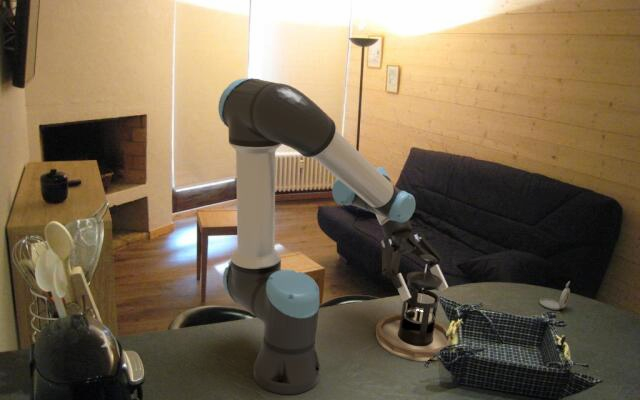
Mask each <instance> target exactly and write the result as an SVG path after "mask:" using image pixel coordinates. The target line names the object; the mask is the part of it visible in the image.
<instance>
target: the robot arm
mask: <svg viewBox="0 0 640 400" xmlns="http://www.w3.org/2000/svg"><path fill="white" fill-rule="evenodd" d="M218 115H219V118H220V120H221V122H223V124H224V126H226V127H227V128H228V144H229V145H230V146H231V147H232V148H233V149H234V150H235V160H236V162H235V164H236V165H235V168H236V169H235V171H236V176H235V177H236V222H237V224H236V226H237V228H236V230H237V231H236V232H237V234H236V235H237V238H236V240H237V249H236V250H235V251H234V252H233V253H232V255H231V258H230V261H228V265H227V267H225V268H224V270H223V276H222V284H223V288H224V291H225V292H226V294H227V295H228V297H229V298H230V299H231V300H232V301H233V302H234V303H235V304H237V305H238V306H240V307H242V308H243V309H244V310H246V311H247V312H249V314H251V315H253V316H255V318H257V319H258V320H259V321H261V322H262V323H263V325H264V326H263V339H262V340H263V341H262V344H261V346H260V348H259V351H258V354H257V356H256V358H255V359H254V362H253V378H254V380H255V382H256V383H257V384H258V385H259V386H261V387H262V388H263V389H265V390H267V391H270V392H272V393H276V394H280V395H296V394H301V393H305V392H308V391H309V390H311V389H313V388H314V387H315V386H316V385H317V384H318V383H319V380H320V375H321V365H320V364H321V363H320V361H319V358H318V352H317V350H316V346H315V345H316V335H317V327H318V321H319V319H318V318H319V310H320V309H319V308H320V304H321V303H320V300H321V299H320V289H319V286H318V283H317V282H316V281H315V279H314V278H312V276H309V275H308V274H306V273H304V272H301V271H298V272H297V271H296V270H293V269H282V256H281V253H280V252H279V251H278V250H276V248H275V247H276V246H275V245H276V243H275V237H276V236H275V235H276V232H275V230H276V227H275V225H276V224H275V222H276V221H275V220H276V214H275V213H276V151H277V150H278V148H280V147H281V146H282V145H284V146H286V147H288V148H291V149H293V150H294V151H296V152H297V153H298V154H300V155H301V156H302V157H305V158H308V159H309V158H311V159H312V158H313V160H315V161H316V162H317V163H318V164H320V165H321V166H322V167H323V168H324V169H326V170H327V171H328V172H329V173H331V174H332V176H334V177H335V178H336V180H334V182H333V185H332V190H331V193H332V197H333V200H334V202H336V204H338V205H341V206H347V207H348V206H354V207H357V208H359V209H363V210H364V211H368V212H371V213H373V214H375V216H376V218H377V221H378V223H379V225H380V226H381V230H382V233H383V235H384V237H385V238H384V239H382V240H381V241H380V242H379V245H380V248H381V274H382V276H383V277H387V279H391V280H392V281H391V282H392V283H393V286H394V288H395V289H396V290H397V291H398V293H399V296H400V297H401V300H402V302H403V301H406V300H408V299H409V298H411V295H410V293H409V290H408V288H409V287H408V285H407V284H406V282H405V279H404V277H403V275H402V273H401V272H399V270H400V269H399V268H400V263H401V258H402V255H404V254H409V253H411V254H414V255H415V256H417V257H418V258H419V256H420V255H424V254H425V255H431V256H433V257H435V258H436V260H435V261H429V264H427V266H430V268H429V270H430V272H431V273H430V274H433V275H436V276H437V277H439V278H440V279H441V280H442V284H441V285H440V286H439V290H438V291H439V292H441V291H444V290H446V289H447V288H449V285H448V283H447V281H446V278H445V277H444V276H445V275H444V272H443V269H442V268H441V266H440V264H441V263H442V262H443V261H444V258H443V256H442V255H440V253H439V252H438V251H437V250H436V249H435V248H434V246H432V245H431V244H430V243H429V241H428V240H427V239H426V238H425V236H424V234H423V233H422V232H421V231H419V232H417V233H416V234H413V232H412V228H413V227H412V225H411V223H410V219H411V218H412V216H413V214H414V213H415V209H416V206H417V205H416V200H415V197H414V195H413V194H411V193H408V192H407V191H406V190H400V189H399V188H397V187H396V185H394V184H393V183H392V180H391V179H392V178H390V177H389V174H388V173H387V171H386V169H385V168H384V167H380V166H377V167H375V166H374V165H373V164H372V163H371V162H370V161H369V160H368V159H367V158H366V157H365V156H364V155H362V153H361V152H359V151H358V149H356V148H355V146H354V145H352V144H351V143H350V142H349V141H348V140H347V139H346V138H345V137H344V136H343V135H342V134H341V133H339V131H338V130H337V125H336V122H335V121H334V120H333V119H332V118H331V117H330V116H329V114H327V113H326V112H325V111H324V110H323V109H322V108H321V107H320V106H318V104H317V103H315V102H314V101H313V100H311V98H309V96H307V95H306V94H304V93H303V92H302V91H300V90H299V89H297V88H295V87H293V86H292V85H289V84H284V83H279V82H274V81H268V80H264V79H263V80H262V79H260V78H253V77H251V78H240V79H236V80H234V81H232V82H231V83H230V84H228V85H227V87H226V88H225V89H224V90H223V91H222V93H221V95H220V98H219V100H218ZM422 261H423V262H424V263H425V260H422ZM398 272H399V273H398Z"/></svg>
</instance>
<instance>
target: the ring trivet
mask: <svg viewBox="0 0 640 400" xmlns="http://www.w3.org/2000/svg"><path fill="white" fill-rule="evenodd" d="M401 314H402V312H395V313H392V314H388V315H385V316H382V317H381V318H380V320H379V321H378V322H377V323H376V324H375V338H376V340H377V342H378V343H379V345H380V346H381V347H382V348H383V349H385V350H386V351H388V352H389V353H391V354H392V355H394V356H397V357H399V358H403V359H406V360H410V361H415V362H416V361H417V362H429V361H428V360H429V359H430V358H432V357H433V355H435V354H438V352H439V351H440V350H441V349H442V348H444V347H446V346H449V345H450V341H451V338H450V336H446V332H447V330H448V329H449V327H447V326H445V325H444V324H443V323H440V322H439V321H438V320H436V319H435V323H434V332H433V342H432V343H431V344H430V345H427V346H414V345H410V344H407V343H405V342H403V341H402V340H401V339H400V338H399V337H398V330H399V326H400V321H401ZM407 331H409V332H412V333H416V334H420V331H419V330H415V329H407ZM434 360H435V361H439V360H438V359H437V358H436V357H435V358H434Z"/></svg>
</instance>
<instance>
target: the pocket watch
mask: <svg viewBox="0 0 640 400" xmlns="http://www.w3.org/2000/svg"><path fill="white" fill-rule="evenodd" d="M570 283H571V281H570V280H569V281H568V282H567V283H566V284H565V288H564V289H563V290H562V291H561V295H560V297H559V301H557V300H555V299H552V298H547V297H546V298H545V297H544V298H540V299H539V304H540V305H541V306H542V307H545V308H546V309H549V310H554V311H558V310H562V309H564V308H565V307H566V305H567V303H568V301H569V298H570V294H571V293H570V292H571V289H570V288H569V285H570Z"/></svg>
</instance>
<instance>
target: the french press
mask: <svg viewBox="0 0 640 400" xmlns="http://www.w3.org/2000/svg"><path fill="white" fill-rule="evenodd" d="M418 258H419V259H421V260H422V261H423V260H425V262H424V265H425V268H424V271H411V272H409V273H407V275H406V280H407V284H406V285H407V287H408V288H409V289H408V290H409V293H410V295H411V298H409V299H408V300H406V301H402V309H401V313H402V314H401V321H400V326H399V330H398V337H399V338H400V339H401V340H402V341H403V342H405V343H407V344H410V345H414V346H427V345H430V344H431V343H432V342H433V332H434V323H435V320H436V316H437V310H438V306H439V301H440V297H439V296H438V295H437V294H436V293H435V292H433V291H430V290H428V289H425V288H434V289H435V290H436V291H440V290H439V286H440V285H441V284H442V280H441V279H440V278H439V277H437V276H436V275H433V274H432V273H430V272H427V268H428V264H429V261H435V260H436V259H437V258H435V257H433V256H431V255H425V254H424V255H420V256H419V257H418ZM419 294H420V299H419V302H418V298H419ZM423 295H426V296H429V297H431V298H433V299H434V302H432V303H422V301H423V300H422V299H423ZM431 309H432V312H431ZM407 329H415V330H419V331H420V334H416V333H412V332H409V331H407Z"/></svg>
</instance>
